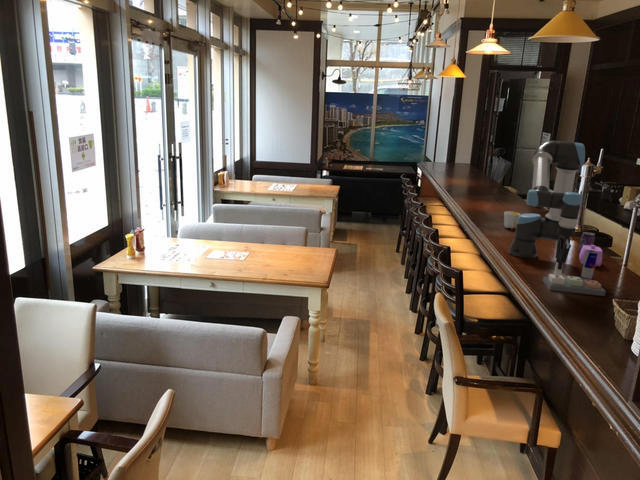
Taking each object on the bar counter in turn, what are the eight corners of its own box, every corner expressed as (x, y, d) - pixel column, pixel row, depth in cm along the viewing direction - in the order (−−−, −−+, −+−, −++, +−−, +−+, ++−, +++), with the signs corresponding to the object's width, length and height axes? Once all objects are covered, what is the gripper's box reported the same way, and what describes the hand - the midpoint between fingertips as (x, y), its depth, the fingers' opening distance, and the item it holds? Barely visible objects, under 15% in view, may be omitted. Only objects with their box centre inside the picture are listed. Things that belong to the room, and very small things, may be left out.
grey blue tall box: (588, 282, 252) (594, 252, 248) (578, 278, 256) (584, 250, 252) (593, 280, 255) (600, 251, 251) (583, 277, 259) (589, 248, 254)
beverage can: (576, 250, 307) (580, 231, 303) (589, 252, 305) (593, 232, 302) (579, 254, 300) (584, 234, 297) (593, 255, 299) (597, 235, 295)
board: (542, 281, 249) (543, 276, 248) (595, 286, 246) (596, 282, 245) (549, 290, 237) (550, 285, 237) (604, 296, 234) (605, 291, 233)
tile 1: (547, 279, 245) (549, 273, 244) (560, 281, 244) (561, 274, 243) (551, 283, 240) (552, 277, 239) (563, 285, 239) (565, 278, 238)
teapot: (576, 256, 294) (579, 239, 291) (596, 259, 291) (600, 242, 288) (581, 266, 277) (585, 247, 274) (603, 269, 274) (607, 250, 272)
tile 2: (565, 281, 244) (566, 275, 243) (578, 283, 243) (579, 276, 242) (569, 285, 239) (570, 279, 238) (581, 287, 238) (583, 280, 237)
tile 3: (582, 285, 243) (584, 279, 242) (595, 286, 242) (596, 280, 241) (587, 289, 238) (588, 283, 237) (599, 291, 237) (601, 284, 236)
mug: (502, 228, 349) (505, 213, 346) (501, 225, 358) (503, 210, 355) (523, 231, 346) (526, 216, 343) (521, 227, 356) (524, 212, 353)
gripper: (554, 222, 241) (545, 270, 247) (562, 228, 229) (552, 278, 235) (571, 224, 240) (561, 271, 246) (580, 230, 228) (570, 280, 234)
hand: (557, 275), depth 241 cm, fingers closed
